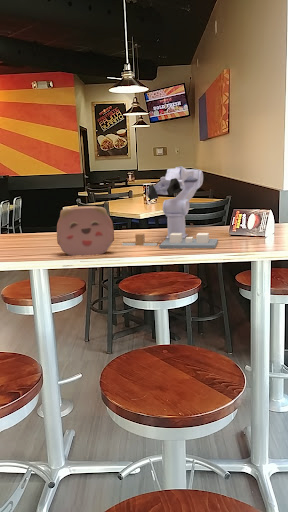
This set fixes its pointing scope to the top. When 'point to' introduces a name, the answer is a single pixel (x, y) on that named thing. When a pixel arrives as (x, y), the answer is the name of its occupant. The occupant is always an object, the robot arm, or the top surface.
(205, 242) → the display stand
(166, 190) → the robot arm
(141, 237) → the brown and white bar
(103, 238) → the face sculpture
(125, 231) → the top surface
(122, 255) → the top surface
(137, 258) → the top surface
